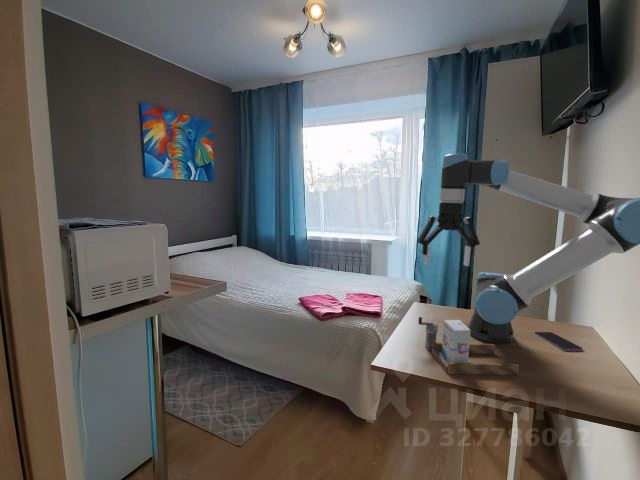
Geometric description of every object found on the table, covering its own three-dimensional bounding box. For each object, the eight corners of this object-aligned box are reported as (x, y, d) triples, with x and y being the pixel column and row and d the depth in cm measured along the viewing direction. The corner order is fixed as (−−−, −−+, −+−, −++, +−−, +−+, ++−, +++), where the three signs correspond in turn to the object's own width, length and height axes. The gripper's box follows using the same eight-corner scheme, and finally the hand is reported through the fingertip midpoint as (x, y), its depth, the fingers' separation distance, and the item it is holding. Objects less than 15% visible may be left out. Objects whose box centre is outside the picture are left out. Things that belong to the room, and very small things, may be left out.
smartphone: (551, 331, 128) (584, 349, 113) (551, 334, 128) (584, 352, 114) (532, 331, 128) (563, 349, 113) (532, 334, 128) (563, 352, 113)
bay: (487, 347, 114) (490, 317, 112) (518, 375, 97) (522, 339, 95) (415, 346, 114) (417, 315, 112) (432, 373, 97) (435, 337, 95)
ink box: (440, 354, 107) (443, 318, 106) (455, 354, 108) (459, 318, 106) (451, 368, 99) (455, 329, 97) (468, 368, 99) (472, 330, 98)
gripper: (483, 202, 116) (477, 263, 119) (411, 200, 116) (406, 261, 119) (494, 203, 109) (488, 268, 112) (417, 201, 109) (413, 266, 112)
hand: (446, 265), depth 115 cm, fingers open, 13 cm apart
